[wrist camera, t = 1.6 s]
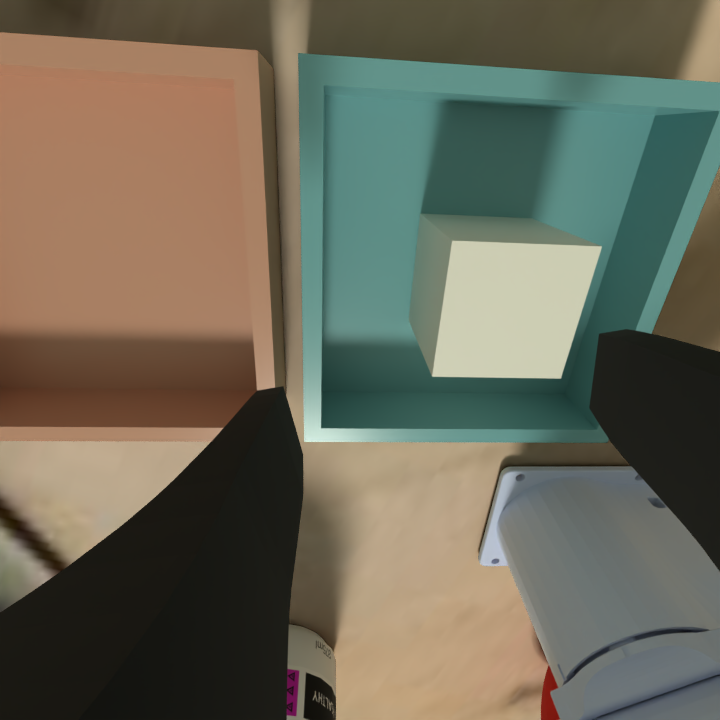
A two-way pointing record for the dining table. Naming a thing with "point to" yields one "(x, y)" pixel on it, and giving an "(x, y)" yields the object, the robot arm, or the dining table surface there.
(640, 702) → the robot arm
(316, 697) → the supplement can
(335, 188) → the bin
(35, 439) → the bin
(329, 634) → the dining table surface
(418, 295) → the cube
